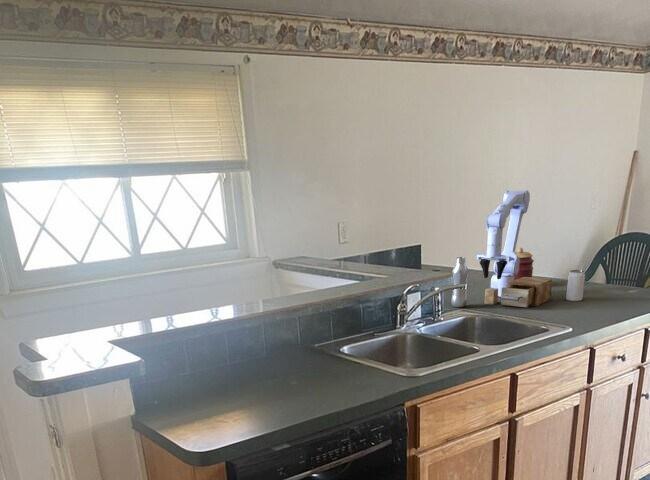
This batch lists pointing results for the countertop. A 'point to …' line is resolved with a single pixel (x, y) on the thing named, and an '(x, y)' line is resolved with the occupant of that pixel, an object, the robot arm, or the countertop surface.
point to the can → (575, 285)
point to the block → (491, 295)
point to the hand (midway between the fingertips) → (492, 278)
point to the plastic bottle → (459, 282)
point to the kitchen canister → (524, 264)
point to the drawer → (518, 295)
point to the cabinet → (541, 286)
